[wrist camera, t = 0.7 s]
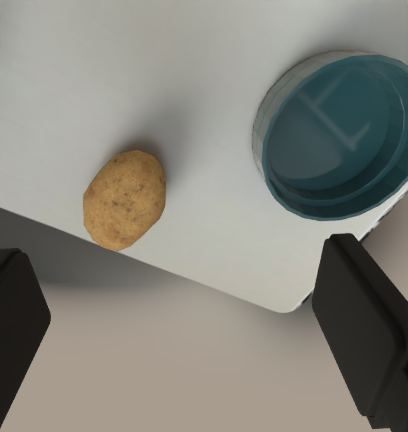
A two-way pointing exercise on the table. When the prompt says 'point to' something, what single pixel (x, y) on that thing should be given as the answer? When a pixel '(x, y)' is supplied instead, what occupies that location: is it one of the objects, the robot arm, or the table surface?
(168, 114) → the table surface
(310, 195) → the teal shallow dish
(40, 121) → the table surface
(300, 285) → the table surface
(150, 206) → the potato
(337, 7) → the table surface
